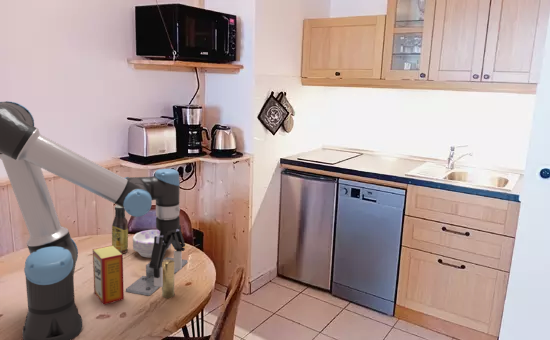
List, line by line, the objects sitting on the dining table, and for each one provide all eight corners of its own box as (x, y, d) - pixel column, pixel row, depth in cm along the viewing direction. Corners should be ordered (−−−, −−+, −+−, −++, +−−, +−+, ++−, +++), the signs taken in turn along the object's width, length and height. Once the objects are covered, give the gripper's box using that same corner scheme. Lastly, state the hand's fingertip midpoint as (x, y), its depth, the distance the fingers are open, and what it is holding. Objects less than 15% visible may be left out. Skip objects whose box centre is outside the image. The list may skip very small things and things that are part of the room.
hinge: (149, 295, 147) (149, 282, 146) (125, 291, 149) (125, 278, 148) (187, 262, 175) (187, 250, 174) (166, 259, 177) (166, 247, 176)
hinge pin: (170, 298, 146) (170, 265, 143) (159, 296, 147) (159, 263, 144) (176, 293, 150) (176, 260, 147) (165, 291, 150) (165, 258, 148)
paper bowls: (135, 263, 172) (135, 243, 170) (131, 249, 186) (130, 231, 184) (174, 258, 178) (174, 239, 177) (167, 245, 192) (167, 227, 190)
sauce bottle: (109, 252, 181) (107, 205, 177) (121, 247, 186) (120, 202, 182) (118, 256, 178) (117, 209, 174) (131, 251, 183) (130, 205, 179)
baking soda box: (94, 293, 147) (92, 248, 144) (113, 288, 151) (112, 244, 148) (103, 304, 140) (101, 257, 137) (123, 299, 144) (122, 253, 141)
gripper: (159, 229, 130) (160, 295, 134) (194, 207, 153) (194, 263, 158) (136, 227, 132) (138, 292, 136) (175, 205, 155) (175, 261, 160)
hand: (168, 277), depth 147 cm, fingers open, 13 cm apart
